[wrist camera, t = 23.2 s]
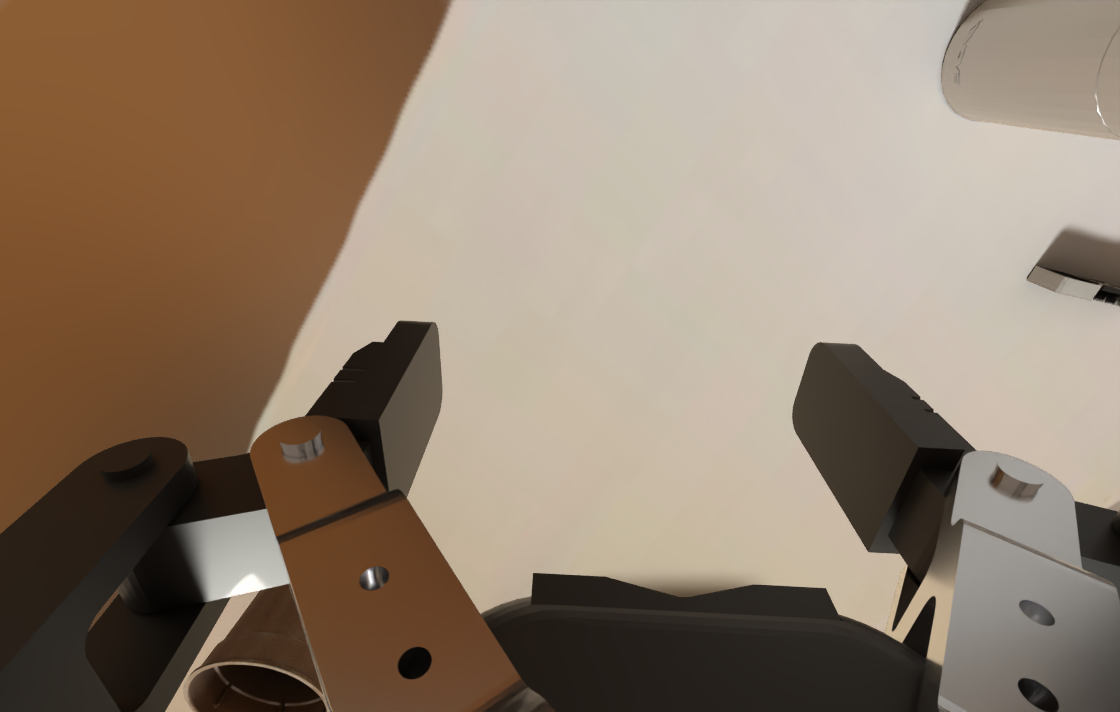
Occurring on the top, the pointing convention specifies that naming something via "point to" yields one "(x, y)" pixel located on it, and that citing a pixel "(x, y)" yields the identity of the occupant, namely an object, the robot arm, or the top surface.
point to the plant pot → (259, 663)
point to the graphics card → (1075, 285)
